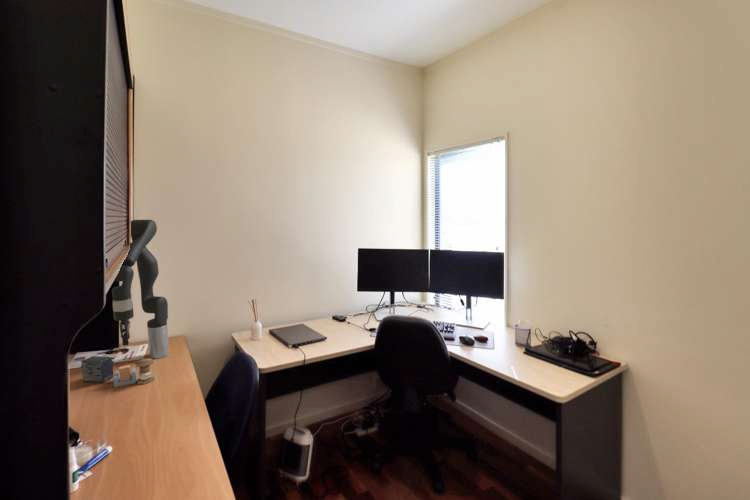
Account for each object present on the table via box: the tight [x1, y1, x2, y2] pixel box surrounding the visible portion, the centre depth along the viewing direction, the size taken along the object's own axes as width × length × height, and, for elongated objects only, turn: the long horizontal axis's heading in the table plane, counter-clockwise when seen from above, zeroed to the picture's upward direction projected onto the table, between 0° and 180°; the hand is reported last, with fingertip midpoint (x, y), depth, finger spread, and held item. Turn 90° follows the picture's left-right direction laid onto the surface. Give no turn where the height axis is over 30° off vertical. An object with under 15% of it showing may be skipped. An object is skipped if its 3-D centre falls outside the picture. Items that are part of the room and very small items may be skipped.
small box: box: [81, 355, 114, 384], centre depth 170 cm, size 11×6×10 cm, turn 84°
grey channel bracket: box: [112, 366, 137, 388], centre depth 168 cm, size 8×8×4 cm
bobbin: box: [135, 357, 155, 385], centre depth 169 cm, size 7×7×10 cm
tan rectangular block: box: [118, 364, 132, 381], centre depth 168 cm, size 3×4×6 cm
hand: (126, 341), depth 167 cm, fingers open, 8 cm apart
